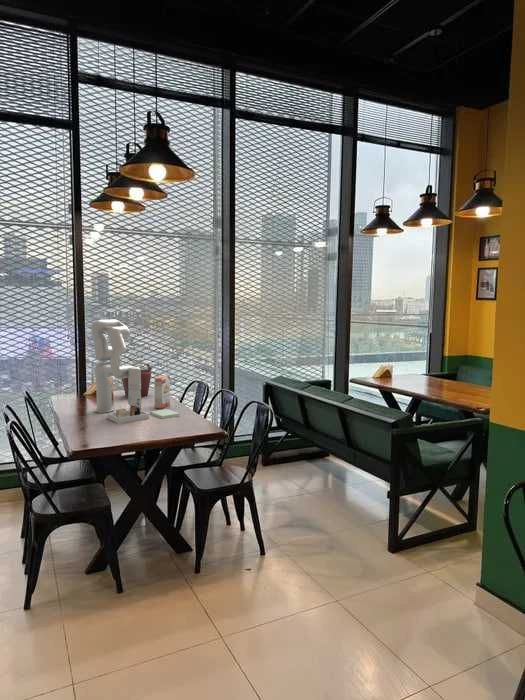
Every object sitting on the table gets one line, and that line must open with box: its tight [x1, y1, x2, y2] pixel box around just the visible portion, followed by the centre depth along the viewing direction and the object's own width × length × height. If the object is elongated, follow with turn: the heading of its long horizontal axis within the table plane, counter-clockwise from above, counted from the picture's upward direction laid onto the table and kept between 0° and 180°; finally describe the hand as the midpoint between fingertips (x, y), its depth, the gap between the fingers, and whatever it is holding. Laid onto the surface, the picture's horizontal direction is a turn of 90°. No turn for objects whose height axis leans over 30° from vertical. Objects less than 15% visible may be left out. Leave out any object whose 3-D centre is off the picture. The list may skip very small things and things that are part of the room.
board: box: [149, 408, 180, 419], centre depth 315 cm, size 16×12×2 cm
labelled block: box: [129, 406, 142, 416], centre depth 307 cm, size 5×5×6 cm
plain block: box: [115, 408, 128, 418], centre depth 302 cm, size 5×5×6 cm
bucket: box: [121, 362, 153, 398], centre depth 376 cm, size 24×22×25 cm
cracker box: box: [154, 374, 171, 410], centre depth 339 cm, size 14×6×21 cm, turn 168°
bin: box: [107, 409, 150, 424], centre depth 305 cm, size 16×20×4 cm
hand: (135, 415), depth 308 cm, fingers closed on labelled block, 5 cm apart
